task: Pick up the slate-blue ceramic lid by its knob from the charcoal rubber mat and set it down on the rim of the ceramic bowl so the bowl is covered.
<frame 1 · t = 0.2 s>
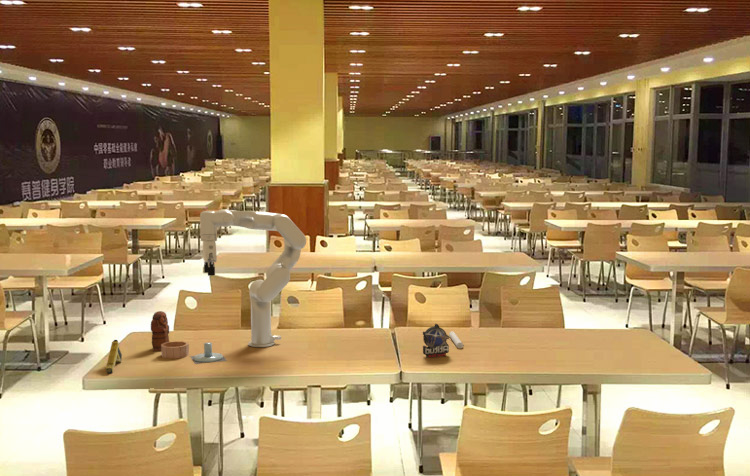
hand: (209, 273, 389), 36 cm above the table, tool pointing down, fingers open, 9 cm apart
wooden figurine: (161, 348, 395), on the table
lid: (208, 358, 375), resting on mat
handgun: (114, 368, 362), on the table
mat: (208, 359, 375), on the table
decorative emblem: (435, 356, 378), on the table
bowl: (175, 356, 381), on the table
tube: (455, 343, 405), on the table
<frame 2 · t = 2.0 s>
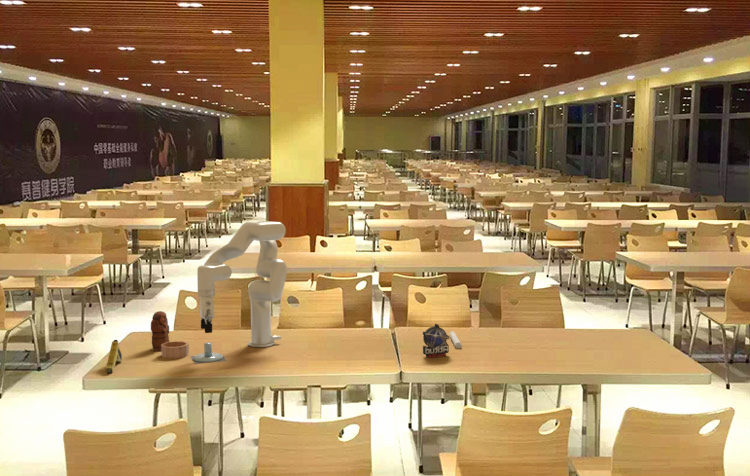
hand: (206, 330, 373), 13 cm above the table, tool pointing down, fingers open, 9 cm apart
nothing on the table moved.
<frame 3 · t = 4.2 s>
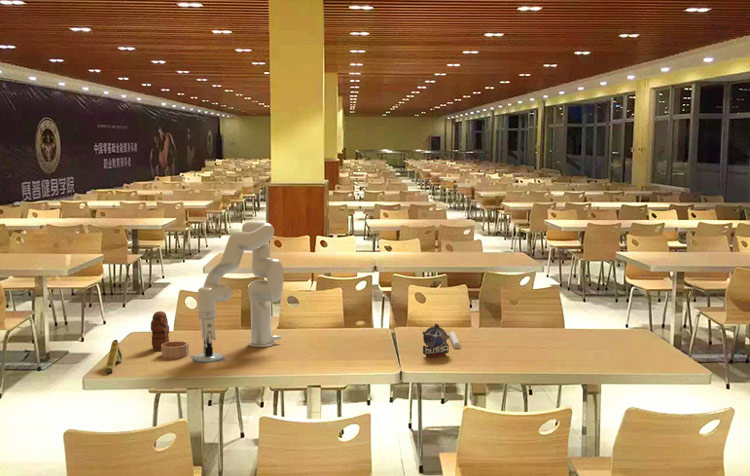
hand: (208, 354, 374), 2 cm above the table, tool pointing down, fingers closed on lid, 3 cm apart
lid: (208, 358, 375), resting on mat, touching gripper
everything else where it was.
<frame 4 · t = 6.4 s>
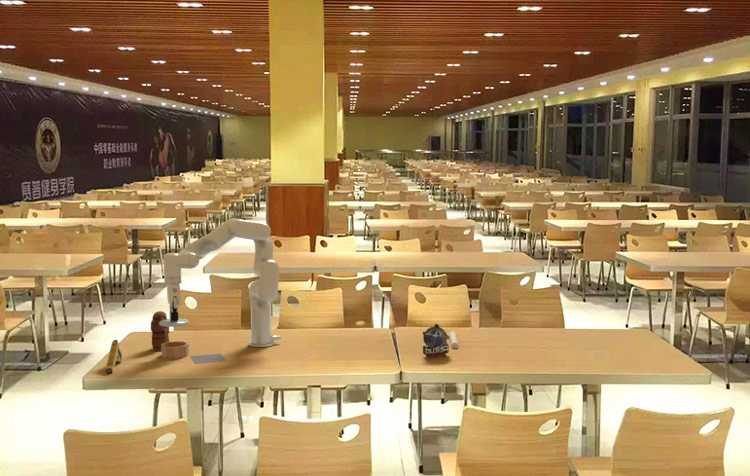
hand: (174, 319, 379), 17 cm above the table, tool pointing down, fingers closed on lid, 3 cm apart
lid: (174, 323, 379), point 15 cm above the table, touching gripper
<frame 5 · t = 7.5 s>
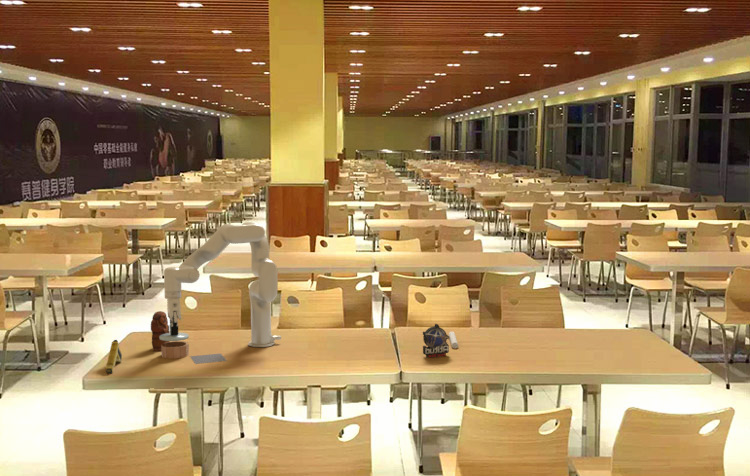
hand: (174, 333, 380), 10 cm above the table, tool pointing down, fingers closed on lid, 3 cm apart
lid: (174, 337, 380), point 9 cm above the table, touching gripper
when the fingers open (8 cm above the table, at t = 8.6 s): lid stays where it is, resting on bowl.
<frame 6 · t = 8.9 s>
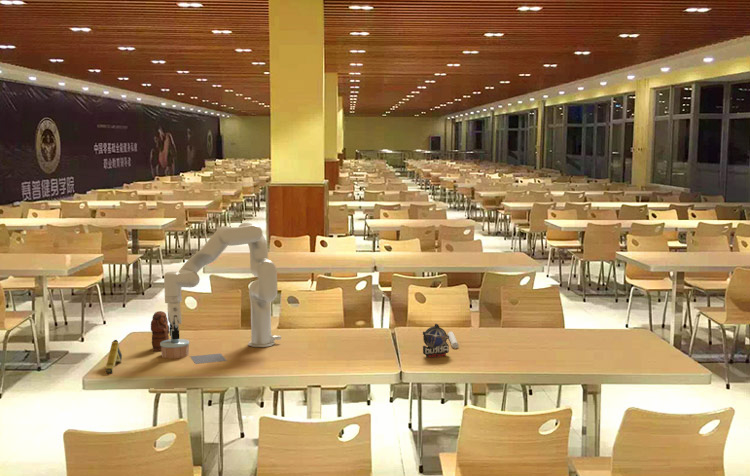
hand: (174, 337, 380), 9 cm above the table, tool pointing down, fingers open, 6 cm apart
lid: (174, 344, 380), point 5 cm above the table, touching bowl
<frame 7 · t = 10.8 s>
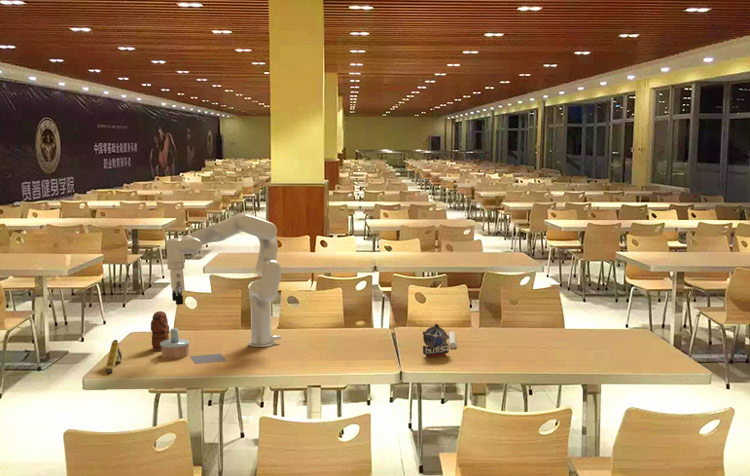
hand: (177, 302, 380), 25 cm above the table, tool pointing down, fingers open, 9 cm apart
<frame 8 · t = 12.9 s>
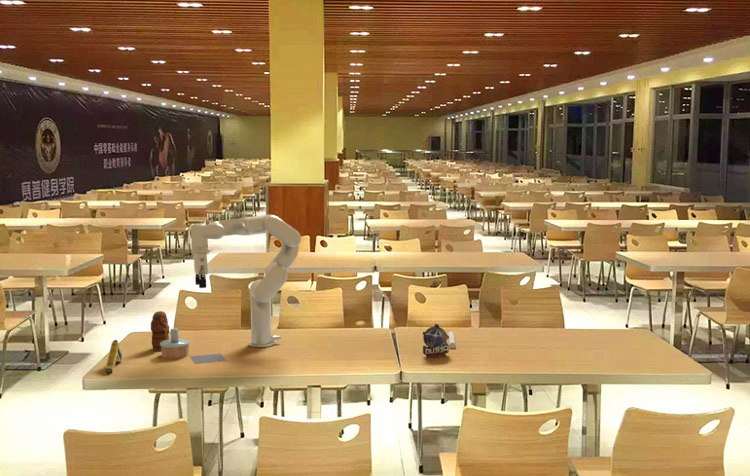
hand: (200, 286, 390), 30 cm above the table, tool pointing down, fingers open, 9 cm apart
at the end: lid 0.0 cm off-centre on the bowl, point 5.5 cm above the bowl's base; lid tilted 0°; the gripper is holding nothing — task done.
